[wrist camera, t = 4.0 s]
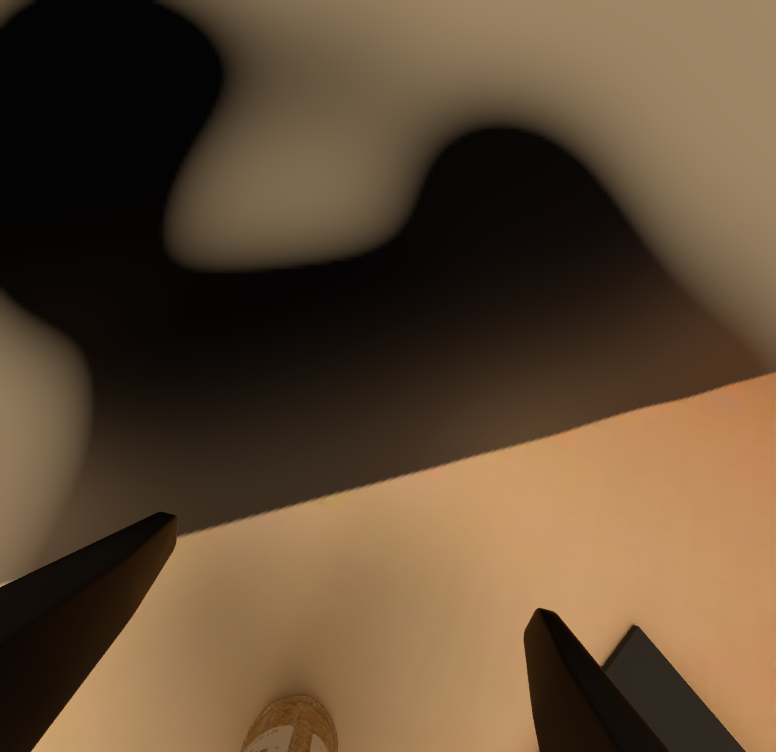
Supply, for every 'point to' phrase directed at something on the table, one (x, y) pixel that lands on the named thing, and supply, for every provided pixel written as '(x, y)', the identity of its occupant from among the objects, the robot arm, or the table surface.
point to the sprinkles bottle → (292, 728)
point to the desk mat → (665, 698)
